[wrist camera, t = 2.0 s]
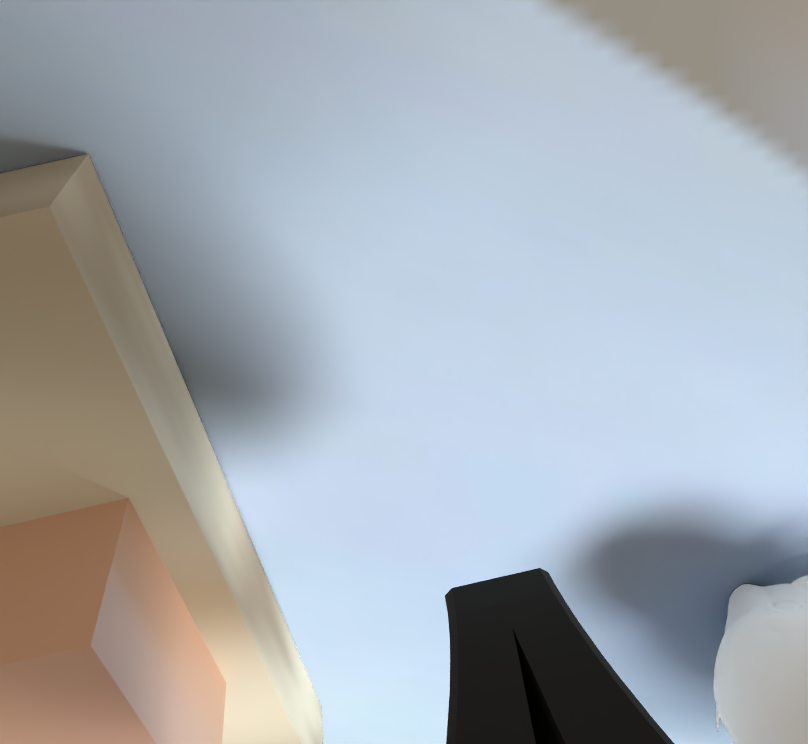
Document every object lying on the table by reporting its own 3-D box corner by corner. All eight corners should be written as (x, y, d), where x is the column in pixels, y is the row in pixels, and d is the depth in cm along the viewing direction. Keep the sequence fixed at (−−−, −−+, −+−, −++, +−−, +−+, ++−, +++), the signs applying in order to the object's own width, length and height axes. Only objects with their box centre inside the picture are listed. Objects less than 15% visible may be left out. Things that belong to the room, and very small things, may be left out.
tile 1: (226, 682, 13) (215, 832, 11) (-26, 741, 13) (-86, 902, 11) (129, 497, 11) (91, 645, 9) (-183, 568, 11) (-297, 734, 9)
